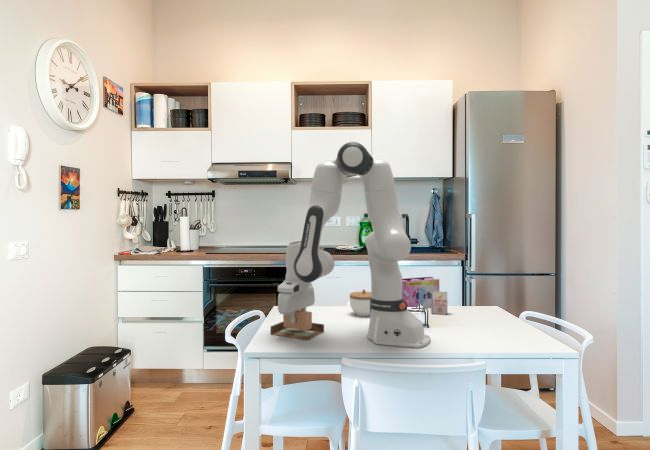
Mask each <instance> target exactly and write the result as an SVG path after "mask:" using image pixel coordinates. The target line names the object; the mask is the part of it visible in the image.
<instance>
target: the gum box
mask: <svg viewBox="0 0 650 450" xmlns="http://www.w3.org/2000/svg"><path fill="white" fill-rule="evenodd" d="M432 291H439V292H440V278H435V277H432V276H425V277H411V278H410V277H409V278H407V277H406V278H402V298H403V299H404V300H405V301H406V302H407V301H408V307H416V308H417V307H418V306H419V304H422V305H424V306H425V307H427V308H428V309H429V308H431V295H432ZM427 308H426V309H427Z"/></svg>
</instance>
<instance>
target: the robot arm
mask: <svg viewBox="0 0 650 450" xmlns="http://www.w3.org/2000/svg"><path fill="white" fill-rule="evenodd" d="M356 176H359V178H360V179H361V181H362V182H363V191H364V197H365V199H364V200H365V205H366V213H367V217H368V219H369V221H370V223H371V227H372V229H373V231H371V232H370V233H369V234H368V235H367V237H366V238H365V247H366V250H367V255H368V258H367V259H368V264H369V268H370V269H369V270H370V280H371V281H370V282H371V284H370V285H371V286H370V287H371V289H370V292H371V298H370V313H371V316H369V317H370V318H369V323H368V324H369V325H368V330H367V334H366V338H367V339H369V340H370V341H372V342H373V344H375V345H383V346H384V345H386V346H393V347H394V346H395V347H404V348H415V349H420V348H423V347H426V346H427V345H429V344H431V340H432V339H431V335H430V334H425V328H424V324H423V322H422V320H420V319H419V318H418V317H417V316H416V315H414V314H413V313H412V312H411V311H410V310H409V309H408V310H407V307H408V301H407V302H406V301H405V300H404V299H403V298H402V279H403V276H402V273H401V271H400V266H399V261H403V260H404V259H406V258H407V257H408V256H409V254H410V252H411V251H412V250H411V249H412V243H411V239H410V238H409V237H408V235H407V233H406V231H405V227H404V225H403V221H402V218H401V214H400V212H399V211H400V210H399V206H398V198H397V192H396V191H397V190H396V184H395V183H396V182H395V178H394V173H393V170H392V168H391V166H390V163H389V162H387V161H386V160H383V159H374V158H373V156H372V154H371V153H369V151H368V150H367V148H366V147H365V146H364V145H363V144H361V143H360V142H357V141H349V142H346V143H345V144H343V145H342V146H341V147H340V148H339V149H338V152H337V154H336V158H335V160H333V161H327V160H326V161H323V162H320V163H318V164H317V165H316V167H315V169H314V173H313V177H312V182H311V187H310V197H309V203H308V209H307V212H306V215H305V216H306V217H305V220H304V224H303V230H302V236H301V240H299V241H294V242H291V243H289V244H288V245H287V246H286V251H285V267H286V273H285V279H284V280H283V282H282V283H280V284H279V285H277V292H278V296H277V311H278V313H279V314H280V315H283V314H289V316H290V318H291V323H293V324H294V323H296V322H297V318H295V315H294V314H295V311H298V310H300V311H307V308H308V307H311V306H314V305H315V303H316V302H315V301H316V299H315V297H316V296H315V289H314V287H313V284H312V283H313V282H315V281H316V280H318V279H320V278H323V277H325V276H328V275H329V274H330V273H332V272H333V269H334V267H335V260H334V257H333V255H332V254H331V253H330V252H328V251H327V250H322V249H320V245H321V244H320V243H321V238H322V232H323V229H324V227H325V225H326V223H328V221H329V220H331V218H332V217H334V216H335V215H336V214H337V213H338V211H339V209H340V205H341V199H342V192H343V191H342V190H343V184H344V180H345V179H348V178H353V177H356Z"/></svg>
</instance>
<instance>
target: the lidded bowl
mask: <svg viewBox="0 0 650 450" xmlns="http://www.w3.org/2000/svg"><path fill="white" fill-rule="evenodd" d="M370 298H371V291H366V289H362V291H354V292H350V293H349V303H350V305H349V306H350V307H351V308H350V309H352V312H353V313H355V315H356V316H358V317H370V316H371V313H370Z"/></svg>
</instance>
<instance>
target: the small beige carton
mask: <svg viewBox="0 0 650 450" xmlns="http://www.w3.org/2000/svg"><path fill="white" fill-rule="evenodd" d="M448 303H449V302H448V291H440V290H439V291H432V295H431V307H430V308H431V309H430V312H431V315H436V316H437V315H438V316H439V315H441V316H447V315H448Z"/></svg>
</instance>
